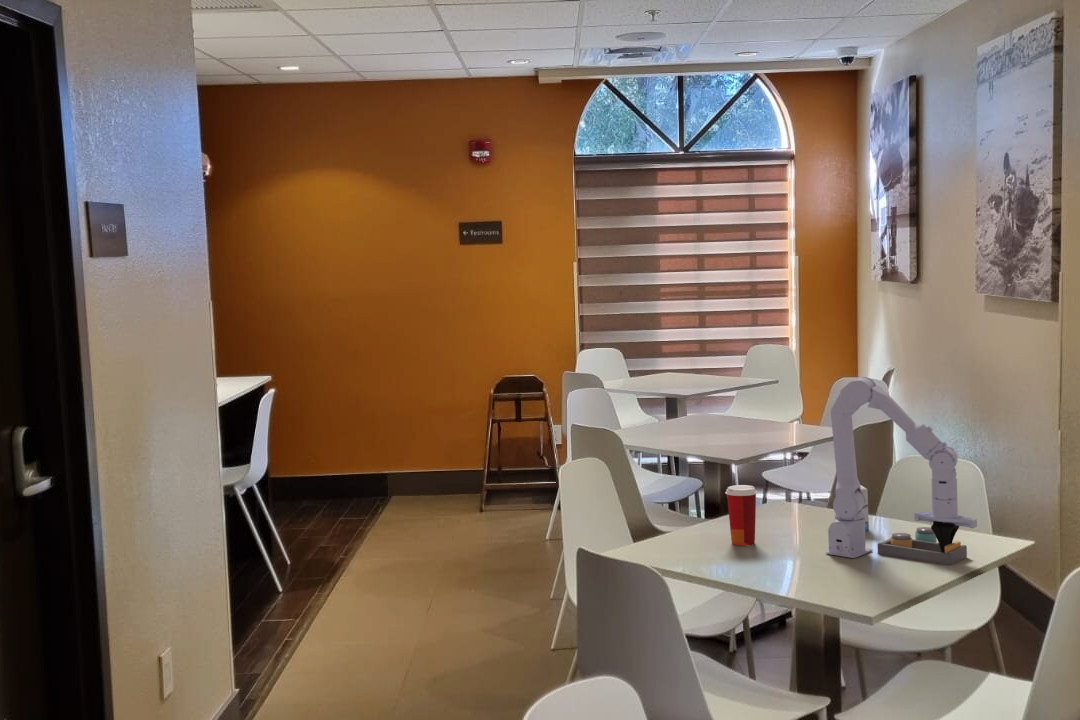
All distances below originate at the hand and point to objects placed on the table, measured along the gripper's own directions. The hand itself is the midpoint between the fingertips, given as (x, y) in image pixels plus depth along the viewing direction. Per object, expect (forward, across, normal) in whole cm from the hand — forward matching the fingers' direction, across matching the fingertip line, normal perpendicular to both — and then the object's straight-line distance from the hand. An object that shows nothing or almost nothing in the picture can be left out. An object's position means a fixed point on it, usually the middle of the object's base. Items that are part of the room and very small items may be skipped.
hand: (945, 553), depth 244 cm
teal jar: (+2, +9, -9) cm, 13 cm away
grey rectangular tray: (+1, +6, 0) cm, 6 cm away
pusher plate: (+1, -2, 0) cm, 2 cm away
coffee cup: (+2, +48, +15) cm, 51 cm away
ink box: (+2, +33, -17) cm, 37 cm away
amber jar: (+2, +11, 0) cm, 11 cm away
